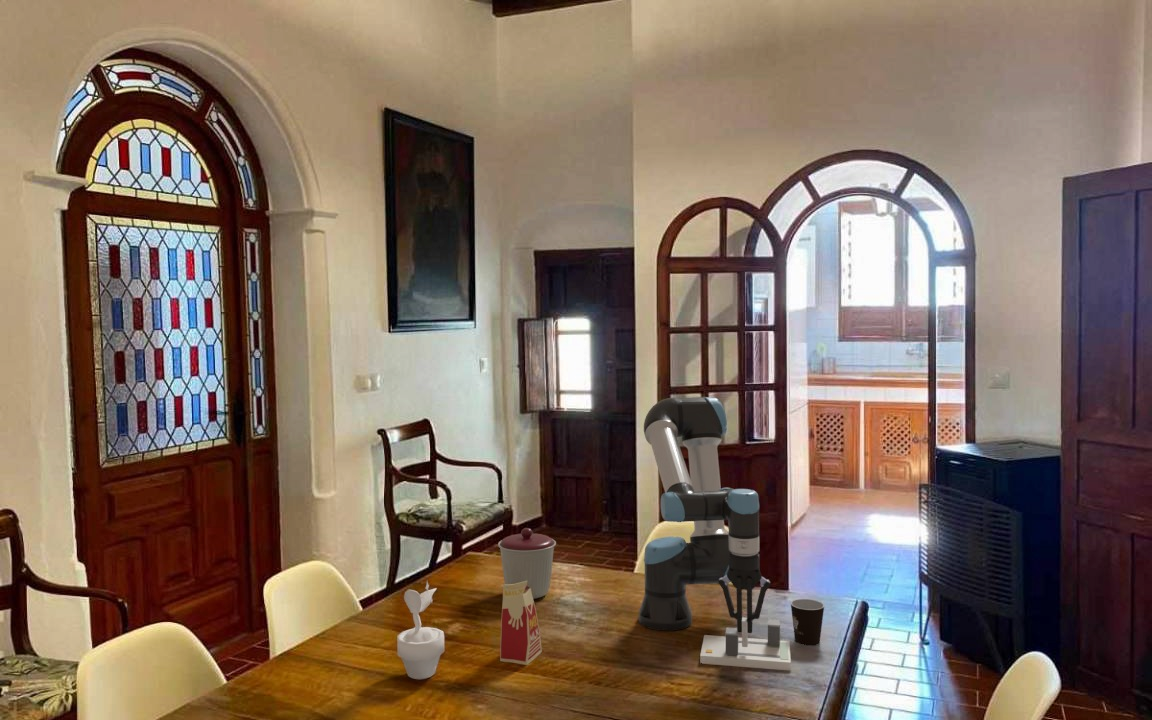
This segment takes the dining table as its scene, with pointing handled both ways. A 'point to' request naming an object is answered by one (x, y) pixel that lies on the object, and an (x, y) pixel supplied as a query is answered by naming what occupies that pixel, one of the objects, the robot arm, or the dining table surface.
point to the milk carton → (519, 625)
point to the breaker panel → (746, 653)
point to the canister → (528, 560)
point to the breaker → (773, 632)
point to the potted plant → (420, 639)
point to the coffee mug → (807, 621)
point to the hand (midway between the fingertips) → (744, 644)
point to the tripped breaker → (731, 641)
